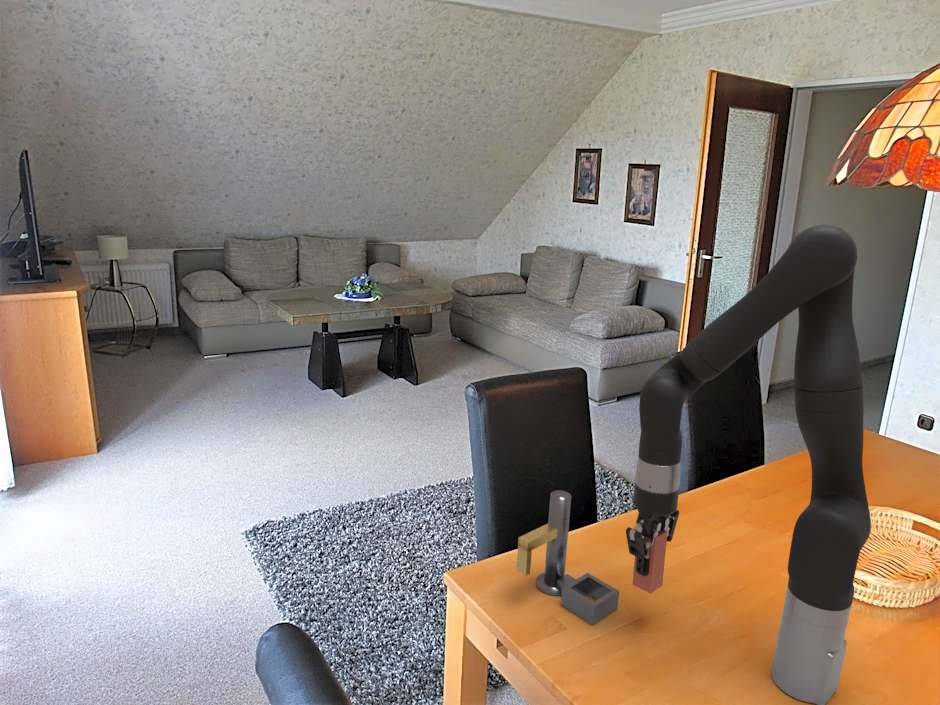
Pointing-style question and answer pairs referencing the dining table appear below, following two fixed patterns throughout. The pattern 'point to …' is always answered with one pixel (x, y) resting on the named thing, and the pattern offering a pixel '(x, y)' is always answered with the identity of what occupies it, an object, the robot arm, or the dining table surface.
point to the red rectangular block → (653, 565)
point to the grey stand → (555, 563)
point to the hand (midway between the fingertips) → (649, 569)
